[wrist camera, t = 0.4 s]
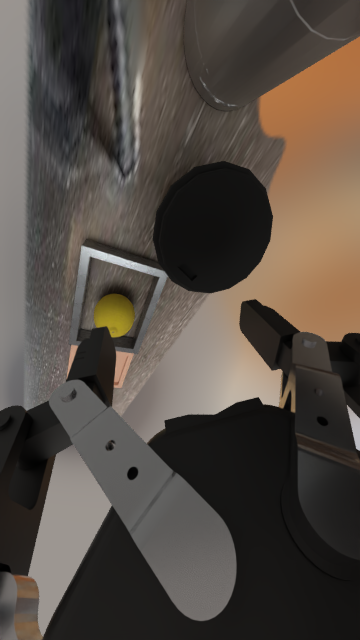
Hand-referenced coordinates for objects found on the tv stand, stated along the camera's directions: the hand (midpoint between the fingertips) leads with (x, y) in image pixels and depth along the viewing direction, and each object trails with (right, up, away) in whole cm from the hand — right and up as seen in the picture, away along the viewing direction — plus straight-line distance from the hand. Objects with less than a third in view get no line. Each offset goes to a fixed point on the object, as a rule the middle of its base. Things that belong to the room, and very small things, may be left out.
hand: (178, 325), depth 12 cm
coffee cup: (+1, +14, +15) cm, 21 cm away
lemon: (-10, +4, +20) cm, 23 cm away
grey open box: (-10, +3, +20) cm, 22 cm away
